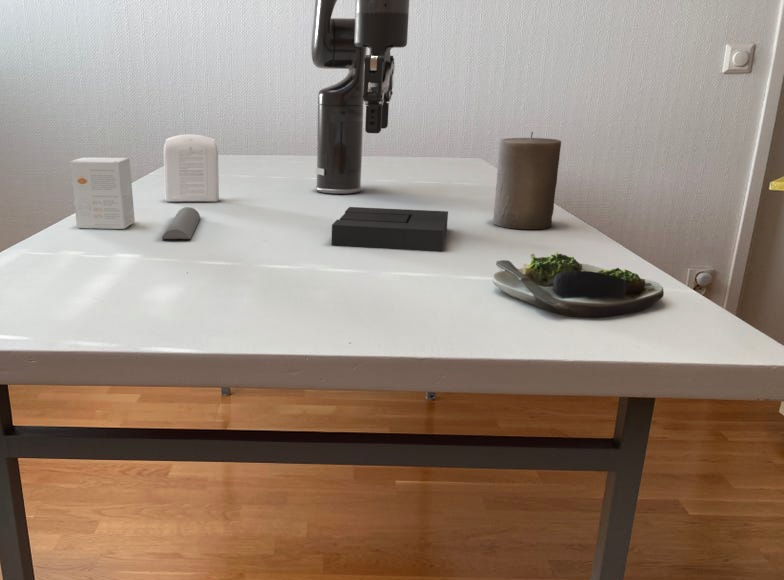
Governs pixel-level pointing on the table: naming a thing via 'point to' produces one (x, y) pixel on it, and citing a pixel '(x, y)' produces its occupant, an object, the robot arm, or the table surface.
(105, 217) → the small box
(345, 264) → the table surface
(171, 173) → the white arched block
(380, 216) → the pad piece
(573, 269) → the salad plate
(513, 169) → the pillar candle
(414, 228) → the slotted rectangular block
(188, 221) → the half round rod
